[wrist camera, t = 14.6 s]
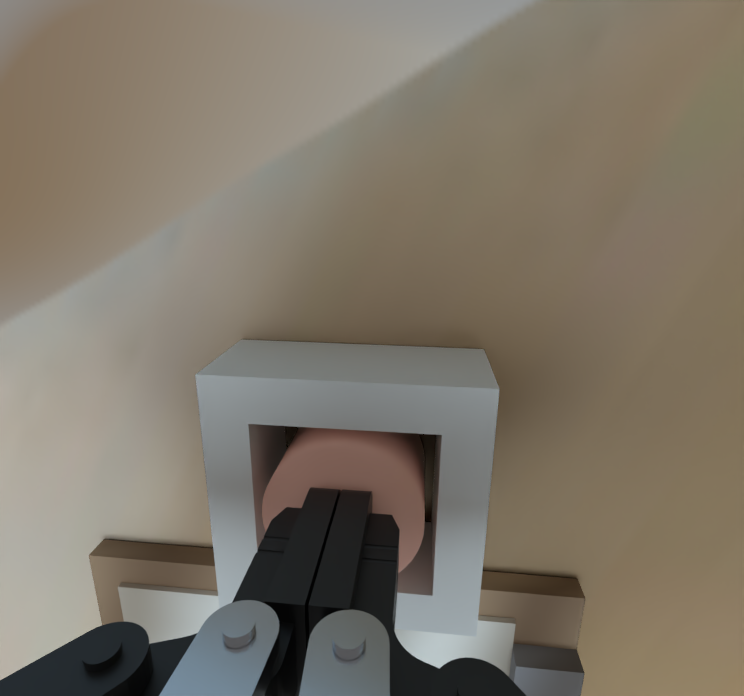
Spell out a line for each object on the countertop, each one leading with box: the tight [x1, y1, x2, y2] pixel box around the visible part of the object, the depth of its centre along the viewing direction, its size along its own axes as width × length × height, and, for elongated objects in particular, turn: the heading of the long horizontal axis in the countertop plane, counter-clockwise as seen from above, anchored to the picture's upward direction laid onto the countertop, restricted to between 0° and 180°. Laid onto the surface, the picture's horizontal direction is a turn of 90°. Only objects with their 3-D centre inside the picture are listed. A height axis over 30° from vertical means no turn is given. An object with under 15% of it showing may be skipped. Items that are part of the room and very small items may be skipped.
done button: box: [262, 427, 425, 573], centre depth 13 cm, size 4×4×3 cm
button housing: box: [195, 339, 500, 637], centre depth 14 cm, size 7×7×3 cm
